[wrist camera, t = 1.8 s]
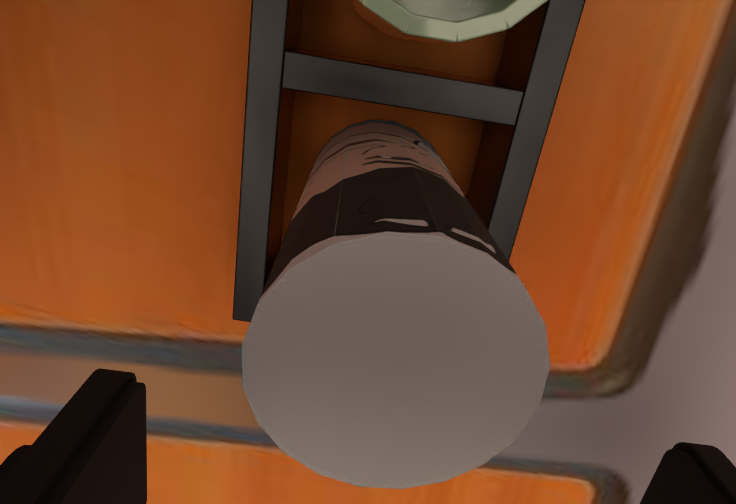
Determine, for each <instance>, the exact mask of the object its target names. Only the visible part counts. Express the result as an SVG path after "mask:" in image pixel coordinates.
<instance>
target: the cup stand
mask: <svg viewBox="0 0 736 504" xmlns="http://www.w3.org/2000/svg"><path fill="white" fill-rule="evenodd" d="M585 1H586V0H548V1H547V2H545V3H544V4H542V5H541V6H540V7H538V8H537V9H536V10H534V11H533V12H532V13H530V14H529V15H528V16H526V17H525V18H523V19H522V20H521V21H519V22H518V23H517V24H515V25H514V26H513V27H511V28H509V31H508V35H507V39H506V43H505V47H504V51H503V55H502V59H501V63H500V67H499V71H498V75H497V80H496V82H491V81H485V80H479V79H474V78H468V77H462V76H456V75H450V74H444V73H438V72H432V71H426V70H420V69H415V68H409V67H403V66H397V65H391V64H385V63H379V62H373V61H367V60H362V59H356V58H350V57H344V56H338V55H332V54H326V53H320V52H314V51H309V50H303V49H299V46H300V36H301V26H302V15H303V5H304V0H252V5H251V21H250V38H249V54H248V71H247V87H246V104H245V120H244V137H243V153H242V170H241V187H240V203H239V220H238V236H237V253H236V269H235V286H234V302H233V319H234V320H240V321H248V322H251V320H252V317H253V315H254V312H255V310H256V307H257V304H258V302H259V299H260V297H261V294H262V292H263V289H264V287H265V285H266V282H267V280H268V277H269V275H270V272H271V270H272V267H273V265H274V262H275V260H276V257H277V255H278V252H279V250H280V242H281V232H282V221H283V211H284V201H285V191H286V180H287V170H288V160H289V149H290V139H291V129H292V118H293V108H294V98H295V90H298V91H304V92H310V93H316V94H322V95H328V96H335V97H341V98H347V99H353V100H359V101H365V102H371V103H377V104H383V105H389V106H395V107H402V108H408V109H414V110H420V111H426V112H432V113H438V114H444V115H450V116H456V117H463V118H469V119H475V120H481V121H486V124H485V128H484V132H483V137H482V141H481V145H480V149H479V153H478V157H477V161H476V165H475V169H474V173H473V177H472V181H471V185H470V189H469V194H468V198H467V199H468V201H469V202H470V204H471V205H472V207H473V209H474V210H475V212H476V213H477V215H478V216H479V218H480V219H481V221H482V222H483V224H484V225H485V227H486V228H487V230H488V231H489V233H490V234H491V236H492V237H493V239H494V240H495V242H496V244H497V245H498V247H499V248H500V250H501V251H502V253H503V254H504V256H505V257H506V259H507V260H508V262H509V259H510V255H511V252H512V248H513V245H514V242H515V238H516V235H517V231H518V228H519V225H520V221H521V218H522V215H523V211H524V208H525V204H526V201H527V198H528V194H529V191H530V187H531V184H532V181H533V177H534V174H535V170H536V167H537V164H538V160H539V157H540V153H541V150H542V147H543V143H544V140H545V136H546V133H547V130H548V126H549V123H550V119H551V116H552V113H553V109H554V106H555V102H556V99H557V96H558V92H559V89H560V85H561V82H562V79H563V75H564V72H565V68H566V65H567V62H568V58H569V55H570V51H571V48H572V45H573V41H574V38H575V34H576V31H577V28H578V24H579V21H580V18H581V14H582V11H583V7H584V4H585Z"/></svg>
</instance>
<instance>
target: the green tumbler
mask: <svg viewBox="0 0 736 504" xmlns="http://www.w3.org/2000/svg"><path fill="white" fill-rule="evenodd" d="M350 1H351V3H352V5H353V6H354V8H355V9H356V10H357V12H358V13H359V15H360V16H361V18H363V20H365V21H366V22H368V23H369V24H370V25H372V26H373V27H374V28H376V29H377V30H379V31H381V32H382V33H384V34H385V35H387V36H389V37H392V38H398V39H403V40H410V41H415V42H443V43H455V42H463V41H467V40H470V39H474V38H478V37H482V36H486V35H490V34H494V33H498V32H502V31H506V30H507V29H509V28H511V27H513V26H514V25H515V24H517V23H518V22H519V21H521V20H522V19H523V18H525V17H526V16H528V15H529V14H530V13H532V12H533V11H534V10H536V9H537V8H538V7H540V6H541V5H542V4H544V3H545V2H547V1H548V0H350Z"/></svg>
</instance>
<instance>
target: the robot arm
mask: <svg viewBox="0 0 736 504" xmlns="http://www.w3.org/2000/svg"><path fill="white" fill-rule="evenodd" d="M146 502H147V448H146V387H145V384H144V383H139V382H136V376H135V374H134V373H131V372H123V371H114V370H108V369H97V370H95V371H94V372H93V373H92V375H90V377H89V378H88V379H87V380H86V381H85V383H84V384H83V385H82V386H81V388H79V390H78V391H77V392H76V393H75V394H74V396H73V397H72V398H71V399H70V400H69V402H68V403H67V404H66V405H65V406H64V407H63V409H62V410H61V411H60V412H59V413H58V415H57V416H56V417H55V418H54V419H53V421H52V422H51V423H50V424H49V425H48V426H47V428H46V429H45V430H44V431H43V432H42V434H41V435H40V436H39V437H38V438H37V439H36V441H35V442H34V443H33V444H32V445H23V446H21V447H19V448H17V449H16V450H15V451H14V452H12V453H11V454H10V455H9V456H8V457H7V458H6V459H5V461H4V462H3V463H2V464H1V465H0V504H146ZM640 504H736V467H735V466H734V465H733V464H732V463H731V462H730V460H729V459H728V458H727V457H726V456H725V455H724V454H723V453H722V452H721V451H720V450H719V449H718V448H716V447H713V446H709V445H701V444H693V443H685V442H680V443H677V444H676V445H675V446H674V447H673V448H672V449H671V450H668V451H666V453H665V454H664V456H663V458H662V460H661V462H660V464H659V466H658V468H657V470H656V472H655V474H654V476H653V478H652V480H651V482H650V484H649V486H648V488H647V490H646V492H645V494H644V496H643V498H642V500H641V502H640Z"/></svg>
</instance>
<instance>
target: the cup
mask: <svg viewBox="0 0 736 504" xmlns="http://www.w3.org/2000/svg"><path fill="white" fill-rule="evenodd" d="M549 368H550V360H549V351H548V342H547V333H546V325H545V323H544V321H543V319H542V317H541V316H540V314H539V312H538V310H537V308H536V306H535V305H534V303H533V301H532V299H531V297H530V295H529V293H528V292H527V290H526V288H525V286H524V285H523V283H522V282H521V280H520V279H519V277H518V276H517V274H516V272H515V271H514V269H513V268H512V266H511V265H510V263H509V262H508V260H507V259H506V257H505V256H504V254H503V253H502V251H501V250H500V248H499V247H498V245H497V244H496V242H495V240H494V239H493V237H492V236H491V234H490V233H489V231H488V230H487V228H486V227H485V225H484V224H483V222H482V221H481V219H480V218H479V216H478V215H477V213H476V212H475V210H474V209H473V207H472V205H471V204H470V202H469V201H468V199H467V198H466V196H465V195H464V193H463V192H462V190H461V189H460V187H459V186H458V184H457V183H456V181H455V180H454V178H453V177H452V175H451V174H450V172H449V170H448V169H447V167H446V166H445V164H444V163H443V161H442V160H441V158H440V157H439V155H438V154H437V152H436V151H435V149H434V148H433V146H432V145H431V144H430V143H429V142H428V141H427V140H426V139H425V138H424V137H422V136H421V135H420V134H419V133H418V132H417V131H416V130H414V129H412V128H409V127H407V126H405V125H402V124H400V123H398V122H395V121H384V120H369V121H365V122H361V123H357V124H352V125H350V126H348V127H347V128H345V129H344V130H342V131H340V132H339V133H337V134H336V135H334V136H332V138H331V139H330V140H329V141H328V142H327V144H326V145H325V146H324V147H323V149H322V150H321V151H320V152H319V153H318V156H317V158H316V161H315V163H314V166H313V168H312V171H311V173H310V176H309V178H308V181H307V183H306V186H305V188H304V191H303V193H302V196H301V198H300V200H299V203H298V205H297V208H296V210H295V213H294V215H293V218H292V220H291V223H290V225H289V228H288V230H287V233H286V235H285V238H284V240H283V242H282V245H281V247H280V250H279V252H278V255H277V257H276V260H275V262H274V265H273V267H272V270H271V272H270V275H269V277H268V280H267V282H266V285H265V287H264V289H263V292H262V294H261V297H260V299H259V302H258V304H257V307H256V310H255V312H254V315H253V317H252V320H251V323H250V325H249V328H248V331H247V333H246V336H245V339H244V341H243V344H242V382H243V388H244V391H245V393H246V396H247V398H248V401H249V403H250V406H251V408H252V410H253V413H254V415H255V418H256V420H257V422H258V424H259V425H260V426H261V427H262V428H263V429H264V431H265V432H266V433H267V434H268V435H269V436H270V437H271V438H272V440H273V441H274V442H275V443H276V444H277V445H278V446H279V448H280V449H281V450H282V451H283V452H284V453H285V454H287V455H289V456H290V457H292V458H293V459H295V460H297V461H298V462H300V463H302V464H303V465H305V466H306V467H308V468H310V469H311V470H313V471H315V472H316V473H318V474H320V475H323V476H326V477H330V478H333V479H336V480H340V481H343V482H346V483H349V484H353V485H356V486H359V487H376V488H395V489H405V488H411V487H416V486H422V485H427V484H433V483H439V482H444V481H447V480H449V479H451V478H454V477H456V476H458V475H461V474H463V473H465V472H467V471H470V470H472V469H474V468H476V467H479V466H481V465H483V464H485V463H486V462H487V461H489V460H490V459H491V458H492V457H494V456H495V455H496V454H497V453H499V452H500V451H501V450H502V449H504V448H505V447H506V446H507V445H508V444H510V443H511V442H512V441H513V440H515V439H516V438H517V437H518V435H519V434H520V432H521V431H522V429H523V428H524V426H525V425H526V424H527V422H528V421H529V419H530V418H531V416H532V415H533V414H534V412H535V411H536V409H537V408H538V406H539V405H540V401H541V398H542V394H543V390H544V387H545V383H546V379H547V376H548V372H549Z"/></svg>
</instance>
